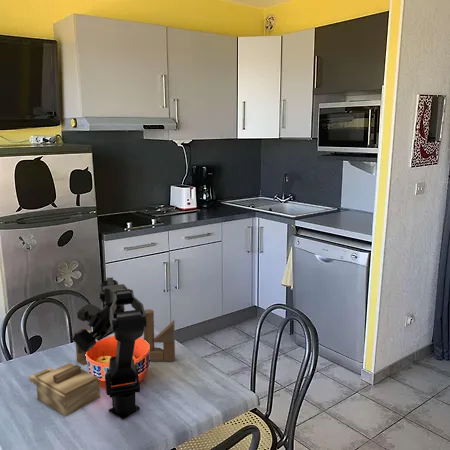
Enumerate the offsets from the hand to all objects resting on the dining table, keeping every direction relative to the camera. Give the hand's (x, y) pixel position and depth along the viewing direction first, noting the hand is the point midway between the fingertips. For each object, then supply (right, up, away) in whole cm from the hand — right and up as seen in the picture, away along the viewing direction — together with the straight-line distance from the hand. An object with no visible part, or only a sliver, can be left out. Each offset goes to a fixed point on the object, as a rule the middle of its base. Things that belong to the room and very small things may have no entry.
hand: (88, 346), depth 151 cm
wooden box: (-7, -12, -8) cm, 16 cm away
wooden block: (+21, -8, +13) cm, 26 cm away
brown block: (-4, -8, +11) cm, 14 cm away
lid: (-3, -7, -12) cm, 14 cm away
